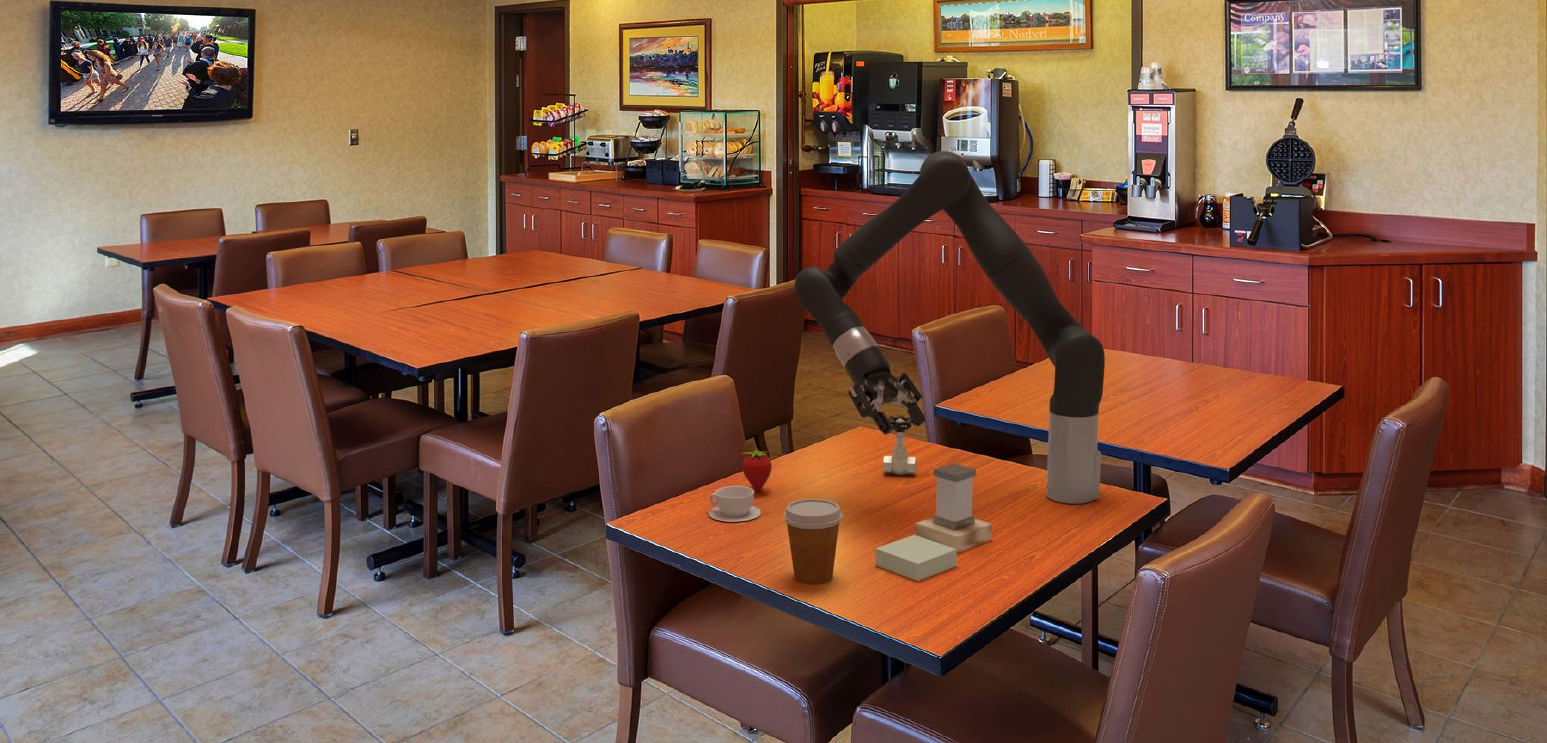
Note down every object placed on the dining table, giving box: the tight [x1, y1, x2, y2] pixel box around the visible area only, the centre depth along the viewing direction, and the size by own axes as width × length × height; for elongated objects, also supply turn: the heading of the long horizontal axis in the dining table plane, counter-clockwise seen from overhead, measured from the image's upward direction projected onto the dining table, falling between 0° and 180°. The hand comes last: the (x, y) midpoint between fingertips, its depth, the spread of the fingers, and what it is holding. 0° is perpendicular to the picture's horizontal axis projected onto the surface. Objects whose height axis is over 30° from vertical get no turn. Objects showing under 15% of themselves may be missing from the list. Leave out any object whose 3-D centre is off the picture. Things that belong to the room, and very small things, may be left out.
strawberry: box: [741, 447, 773, 493], centre depth 239 cm, size 6×8×10 cm
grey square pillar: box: [932, 462, 977, 531], centre depth 210 cm, size 5×5×10 cm
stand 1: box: [875, 534, 958, 582], centre depth 200 cm, size 10×10×3 cm
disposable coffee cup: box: [783, 498, 843, 585], centre depth 195 cm, size 10×10×12 cm
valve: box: [882, 414, 917, 476], centre depth 248 cm, size 7×7×12 cm
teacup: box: [708, 485, 762, 523], centre depth 226 cm, size 10×10×5 cm
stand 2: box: [915, 516, 993, 554], centre depth 211 cm, size 10×10×3 cm
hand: (905, 427), depth 216 cm, fingers open, 8 cm apart
